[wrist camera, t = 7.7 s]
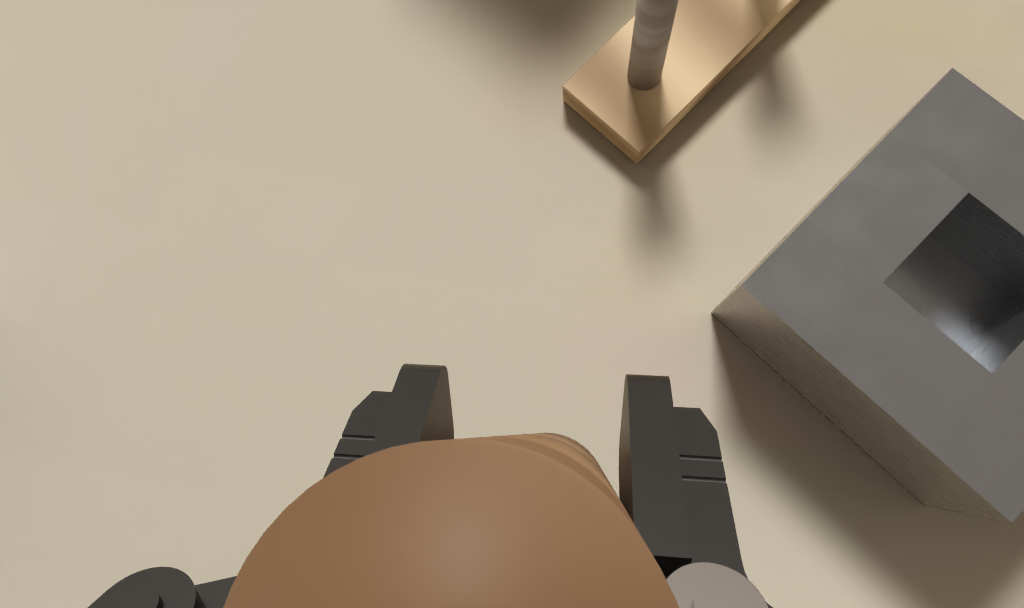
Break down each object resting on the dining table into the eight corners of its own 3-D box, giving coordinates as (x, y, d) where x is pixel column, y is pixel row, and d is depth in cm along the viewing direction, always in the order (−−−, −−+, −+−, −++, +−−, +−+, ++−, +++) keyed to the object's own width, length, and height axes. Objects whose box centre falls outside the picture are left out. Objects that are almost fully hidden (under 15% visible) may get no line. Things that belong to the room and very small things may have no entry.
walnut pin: (546, 583, 18) (435, 1124, 4) (463, 492, 18) (111, 681, 5) (632, 495, 18) (812, 711, 4) (546, 408, 18) (453, 344, 5)
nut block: (924, 504, 29) (1011, 523, 23) (710, 312, 31) (741, 284, 25) (1105, 307, 30) (1235, 276, 24) (884, 134, 32) (952, 67, 26)
